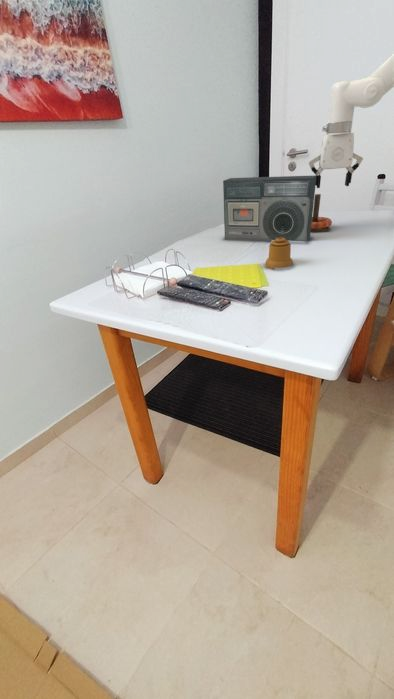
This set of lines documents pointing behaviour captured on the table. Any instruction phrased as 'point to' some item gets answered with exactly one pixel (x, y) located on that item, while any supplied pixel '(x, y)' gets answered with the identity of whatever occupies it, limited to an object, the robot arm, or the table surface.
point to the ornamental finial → (279, 254)
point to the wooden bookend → (316, 213)
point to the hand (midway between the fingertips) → (332, 186)
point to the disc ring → (321, 223)
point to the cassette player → (268, 208)
